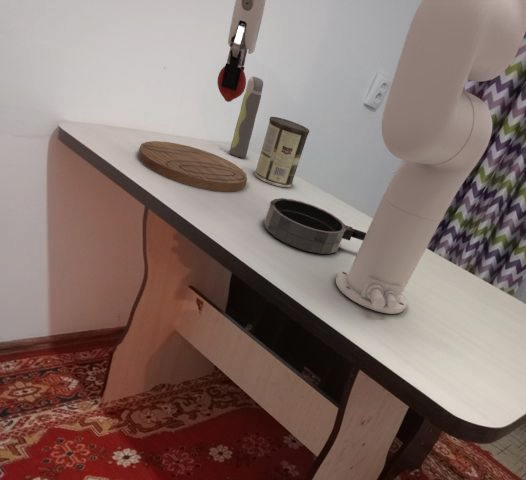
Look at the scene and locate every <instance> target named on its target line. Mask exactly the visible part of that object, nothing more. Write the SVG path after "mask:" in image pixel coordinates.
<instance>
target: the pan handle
mask: <svg viewBox="0 0 526 480" xmlns="http://www.w3.org/2000/svg"><path fill="white" fill-rule="evenodd" d="M344 227H345V229H347V230H346V232H345V234H344V237H343V239H342V240H346V241H349V242H350V241H351V240H352V238H353V239H357V240H360V241H363V240H364V238H365V235H366V233H367V232H365V231H362V230H358V229H356V228H353V227H352V226H349V225H346V224H345V225H344Z"/></svg>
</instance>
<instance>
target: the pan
mask: <svg viewBox="0 0 526 480" xmlns="http://www.w3.org/2000/svg"><path fill="white" fill-rule="evenodd" d="M344 225H346V224H345V223H344V222H343V221H342V220H341V219H340V218H338V217H337V216H335V215H334V214H332V213H331V212H328V211H327V210H326V209H323V208H321V207H318V206H316V205H313V204H310V203H309V202H308V203H307V202H305V201H302V200H297V199H292V198H283V197H281V198H274V199H272V200H271V201H270V202H269V206H268V209H267V212H266V216H265V220H264V224H263V226H264V227H265V229H266V231H267V232H269V234H271V235H272V236H273V237H274V238H276V239H277V240H279V241H281V242H282V243H284V244H286V245H288V246H290V247H293V248H294V249H298V250H301V251H304V252H308V253H312V254H323V255H325V254H326V255H330V254H334V253H336V252H338V251H339V249H340V246H341V243H342V241H343V240H344V239H343V237H344V234H345V232H346V230H347V229H345V227H344Z"/></svg>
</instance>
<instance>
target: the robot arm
mask: <svg viewBox="0 0 526 480" xmlns="http://www.w3.org/2000/svg"><path fill="white" fill-rule="evenodd" d="M265 5H266V0H235V2H234V7H233V12H232V17H231V22H230V27H229V33H228V39H227V44H228V46H229V52H228V56H227V60H226V63H225V64H224V66H225V69H224V74H223V78H222V83H221V86H222V87H225V88H228V89H231V90H233V91H236V90H237V87H238V83H239V79H240V75H241V70H242V69H243V71H244V72H245V63H246V59H247V53H248V54H249V55H251V54H253V53H254V52H255V50H256V46H257V41H258V38H259V37H258V36H259V32H260V28H261V24H262V19H263V16H264V11H265ZM525 36H526V0H421V1H420V3H419V5H418V6H417V8H416V10H415V13H414V14H413V17H412V20H411V22H410V24H409V28H408V31H407V34H406V37H405V40H404V43H403V47H402V49H401V52H400V56H399V59H398V62H397V66H396V69H395V71H394V75H393V78H392V81H391V85H390V87H389V91H388V94H387V98H386V100H385V104H384V109H383V111H382V119H381V136H382V140H383V143H384V145H385V147H386V149H387V150H388V151H389V152H390V153H391V154H392V155H393V156H394V157H396V158H398V159H400V160H403V161H402V163H400V165H399V166H398V168H397V170H396V171H395V173H394V174H393V176H392V177H391V179H390V181H389V183H388V185H387V187H386V189H385V191H384V193H383V195H382V198H381V200H380V201H379V204H378V207H377V209H376V211H375V213H374V215H373V218H372V220H371V222H370V224H369V226H368V229H367V231H366V232H365V233H366V235H365V238H364V240H362V242H361V244H360V247H359V249H358V251H357V253H356V255H355V258H354V259H353V262H352V265H351V266H350V269H345V270H342V271H339V272H338V274H337V276H336V278H335V284H336V287H337V288H338V289H339V291H340V293H342V294H343V295H345V296H346V297H347V298H348V299H350V301H351V300H352V302H354V303H356V304H357V305H360V306H362V307H364V308H366V309H369V310H371V311H374V312H378V313H383V314H388V315H389V314H390V315H395V314H399V313H402V312H404V311H405V309H406V307H407V305H408V301H407V297H406V296H405V295H404V294H403V292H404V291H405V289H406V287H407V285H408V283H409V282H410V280H411V278H412V276H413V274H414V272H415V270H416V268H417V266H419V265H418V264H419V263H420V261H421V259H422V257H423V255H424V254H425V251H426V250H427V247H428V246H429V244H430V242H431V241H432V239H433V237H434V236H435V235H434V234H435V233H436V231H437V229H438V227H439V225H440V224H441V222H442V221H443V219H444V216H445V215H446V213H447V211H448V209H449V208H450V205H451V203H452V202H453V200H454V198H455V197H456V195H457V193H458V191H459V190H460V189H461V186H462V185H463V184H464V183H465V181H466V180H467V178H468V177H469V176H470V174H471V173H472V171H473V170H474V168H475V167H476V166H477V165H478V163H479V161H480V160H481V158H482V157H483V156H484V154H485V152H486V150H487V148H488V146H489V144H490V140H491V137H492V132H493V118H492V114H491V112H490V110H489V108H488V106H487V105H486V103H485V102H484V101H483V100H482V99H481V98H479V97H477V96H476V95H475V94H472V93H470V92H468V91H465V90H464V88H465V86H466V83H467V81H470V82H471V81H472V82H477V83H480V82H488V81H491V80H493V79H496V78H497V77H499V76H500V75H502V74H503V73H504V72H505V71H506V70H507V69H508V68H509V66H510V65H511V63H512V62H513V61H514V59H515V58H516V56H517V53H518V51H519V50H520V47H521V45H522V42H523V41H524V37H525ZM240 68H242V69H240Z"/></svg>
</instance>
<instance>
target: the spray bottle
mask: <svg viewBox="0 0 526 480" xmlns="http://www.w3.org/2000/svg"><path fill="white" fill-rule="evenodd" d="M263 88H264V80H263V79H261V78H260V77H257V76H250V77H249V79H248V81H247V83H246V87H245V91H244V92H245V93H244V95H243V98H242V103H241V105H240V111H239V114H238V118H237V121H236V125H235V129H234V133H233V138H232V141H231V144H230V148H229V153H230V155H232V156H234V157H236V158H240V159H244V158H246V157H247V154H248V151H249V146H250V141H251V138H252V134H253V131H254V127H255V122H256V117H257V114H258V111H259V107H260V103H261V98H262V95H263V94H262V93H263Z"/></svg>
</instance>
